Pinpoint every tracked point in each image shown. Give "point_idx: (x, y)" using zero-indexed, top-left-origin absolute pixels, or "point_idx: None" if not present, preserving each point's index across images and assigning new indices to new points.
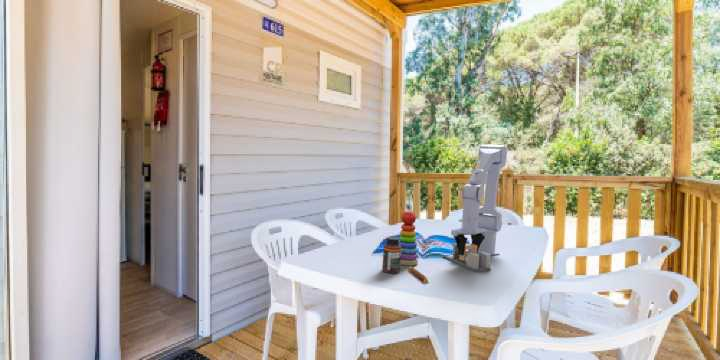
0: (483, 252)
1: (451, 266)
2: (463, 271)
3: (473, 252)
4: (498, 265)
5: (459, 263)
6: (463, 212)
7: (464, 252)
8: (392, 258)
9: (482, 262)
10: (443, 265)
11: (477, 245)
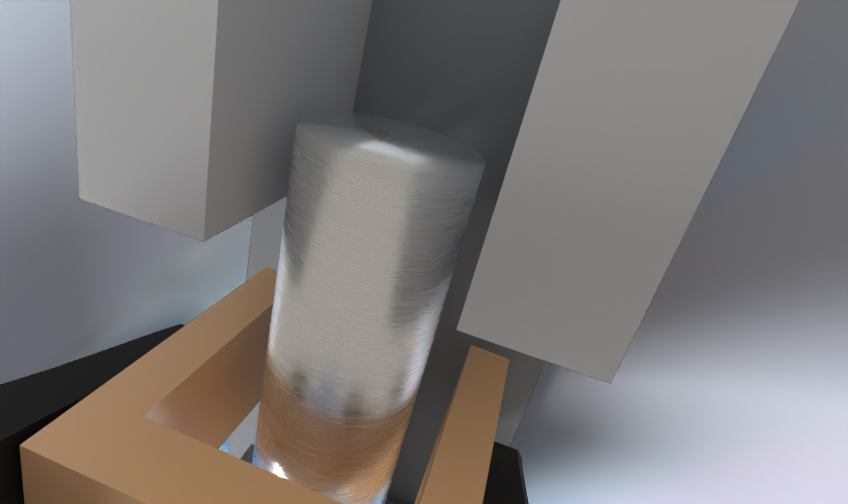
0: (125, 137)
1: (723, 404)
2: (844, 137)
3: (320, 337)
4: (10, 35)
5: (531, 385)
6: None
7: (485, 476)
8: None
9: (334, 56)
10: (785, 494)
11: (15, 444)
